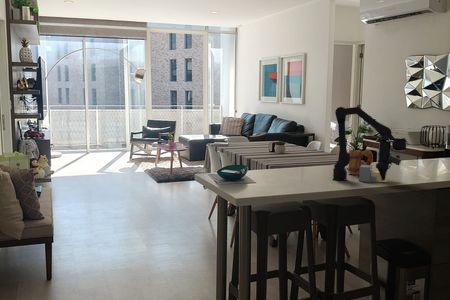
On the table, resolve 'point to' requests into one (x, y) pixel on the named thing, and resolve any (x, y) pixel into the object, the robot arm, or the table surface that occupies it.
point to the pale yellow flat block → (378, 176)
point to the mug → (358, 160)
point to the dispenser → (366, 173)
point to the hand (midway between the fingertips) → (383, 179)
